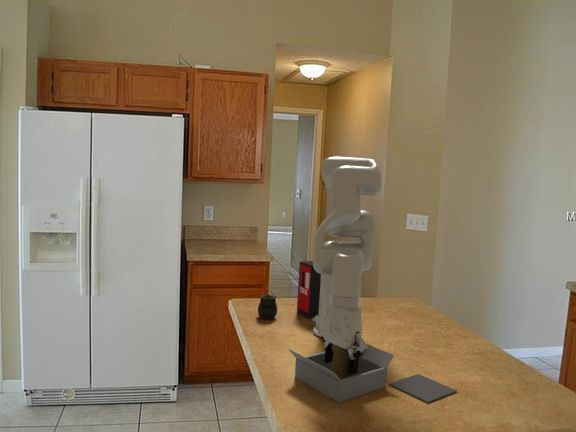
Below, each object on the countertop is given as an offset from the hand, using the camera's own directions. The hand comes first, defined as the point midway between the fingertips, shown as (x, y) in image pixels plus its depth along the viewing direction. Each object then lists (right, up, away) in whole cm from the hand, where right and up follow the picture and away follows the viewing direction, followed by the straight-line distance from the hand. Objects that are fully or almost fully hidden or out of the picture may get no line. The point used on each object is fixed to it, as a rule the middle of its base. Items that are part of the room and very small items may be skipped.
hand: (340, 367), depth 126 cm
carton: (0, -4, 0) cm, 4 cm away
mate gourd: (-21, +1, +53) cm, 57 cm away
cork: (0, -4, 0) cm, 4 cm away
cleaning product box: (-1, +1, +63) cm, 63 cm away
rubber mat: (+21, -5, -1) cm, 22 cm away
